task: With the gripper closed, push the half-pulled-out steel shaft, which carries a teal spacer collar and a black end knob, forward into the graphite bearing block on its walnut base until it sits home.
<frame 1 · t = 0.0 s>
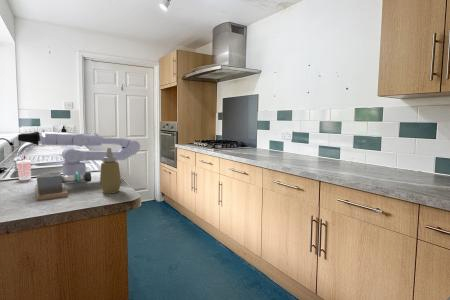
hand: (18, 137, 114), 22 cm above the countertop, tool horizontal, fingers open, 7 cm apart
bearing housing: (50, 192, 109), on the countertop
shaft: (70, 178, 113), point 4 cm above the countertop, slide at 5.0 cm
squeeze bottle: (111, 192, 110), on the countertop
beverage cup: (25, 179, 133), on the countertop
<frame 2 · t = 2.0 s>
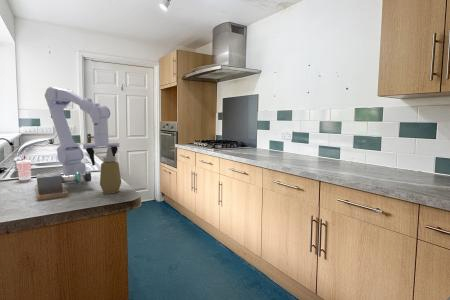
hand: (102, 164, 120), 9 cm above the countertop, tool pointing down, fingers open, 7 cm apart
nothing on the countertop moved.
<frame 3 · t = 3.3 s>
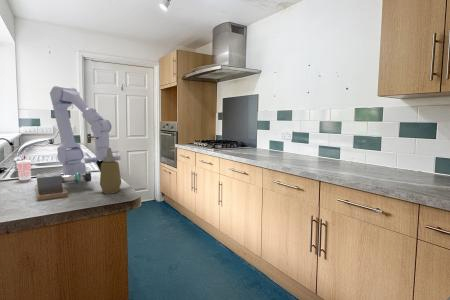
hand: (103, 177, 121), 3 cm above the countertop, tool pointing down, fingers closed
nothing on the countertop moved.
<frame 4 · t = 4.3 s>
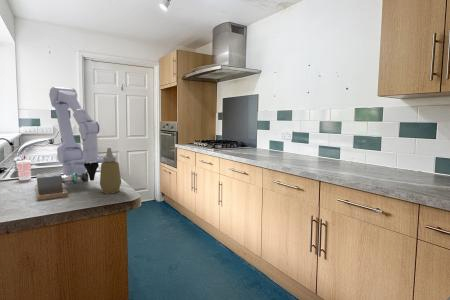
hand: (91, 180, 118), 3 cm above the countertop, tool pointing down, fingers closed
shaft: (67, 179, 113), point 4 cm above the countertop, slide at 3.9 cm, touching gripper
everything else where it was.
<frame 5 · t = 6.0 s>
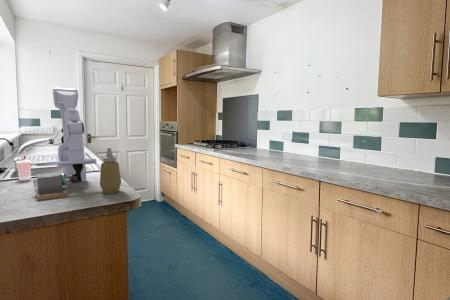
hand: (78, 181, 115), 3 cm above the countertop, tool pointing down, fingers closed, pressing on shaft
shaft: (55, 180, 110), point 4 cm above the countertop, slide at -0.3 cm, touching bearing housing, gripper
everything else where it was.
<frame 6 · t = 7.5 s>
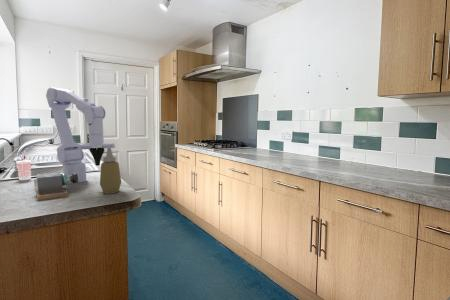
hand: (97, 165, 118), 9 cm above the countertop, tool pointing down, fingers closed
shaft: (56, 180, 110), point 4 cm above the countertop, slide at 0.0 cm
everything else where it was.
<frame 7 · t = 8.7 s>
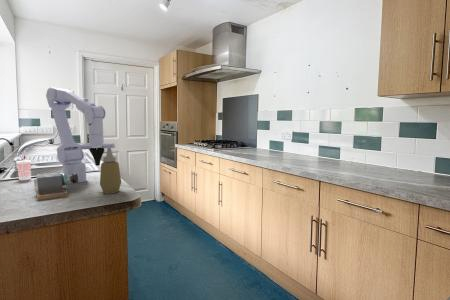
hand: (97, 165, 118), 9 cm above the countertop, tool pointing down, fingers closed
nothing on the countertop moved.
at the end: shaft slide at 0.0 cm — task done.
